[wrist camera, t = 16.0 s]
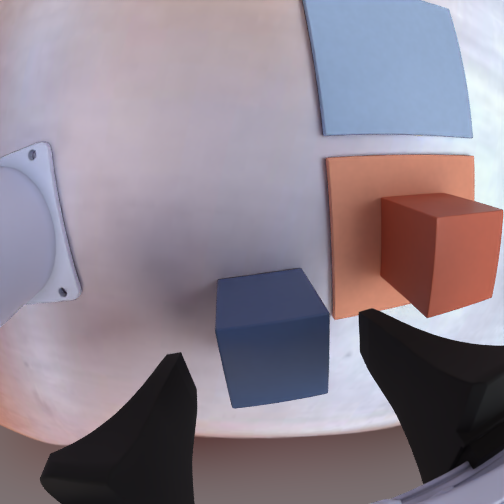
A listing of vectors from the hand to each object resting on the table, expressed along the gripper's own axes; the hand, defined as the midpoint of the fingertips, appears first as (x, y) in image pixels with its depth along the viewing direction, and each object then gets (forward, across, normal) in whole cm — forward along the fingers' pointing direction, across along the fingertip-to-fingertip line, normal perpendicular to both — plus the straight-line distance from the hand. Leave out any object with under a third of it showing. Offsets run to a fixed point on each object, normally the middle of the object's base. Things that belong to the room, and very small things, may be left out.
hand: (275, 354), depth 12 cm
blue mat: (+4, -9, -11) cm, 15 cm away
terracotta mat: (+4, -8, -2) cm, 9 cm away
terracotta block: (+3, -8, -2) cm, 9 cm away
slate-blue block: (+4, 0, 0) cm, 4 cm away
